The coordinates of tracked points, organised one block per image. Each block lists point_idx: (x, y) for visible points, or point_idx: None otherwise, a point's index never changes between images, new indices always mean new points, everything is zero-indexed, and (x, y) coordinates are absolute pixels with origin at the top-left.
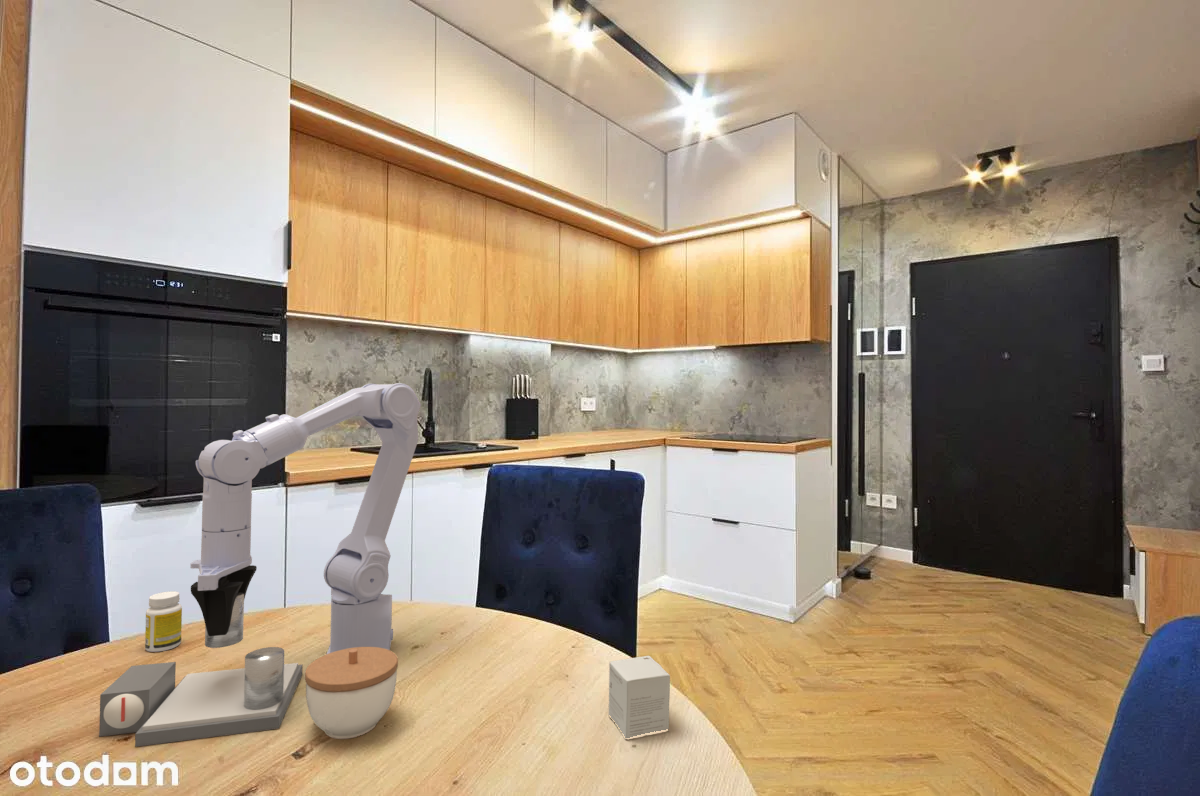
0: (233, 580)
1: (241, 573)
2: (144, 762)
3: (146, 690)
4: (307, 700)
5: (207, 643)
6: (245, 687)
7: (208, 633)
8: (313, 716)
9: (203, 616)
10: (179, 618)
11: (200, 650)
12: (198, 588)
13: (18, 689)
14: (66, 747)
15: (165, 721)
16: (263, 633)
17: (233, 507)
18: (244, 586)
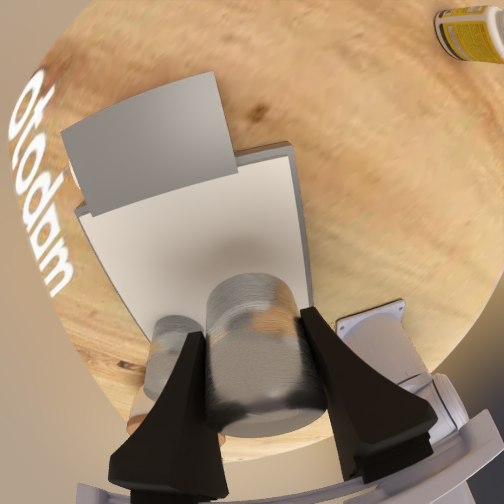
0: (341, 442)
1: (345, 468)
2: (62, 240)
3: (90, 212)
4: (140, 399)
5: (209, 299)
6: (152, 345)
7: (186, 339)
8: (138, 391)
9: (167, 381)
10: (492, 61)
11: (439, 99)
12: (77, 489)
13: None
14: (71, 98)
15: (97, 241)
16: (474, 181)
17: None
18: (333, 431)
